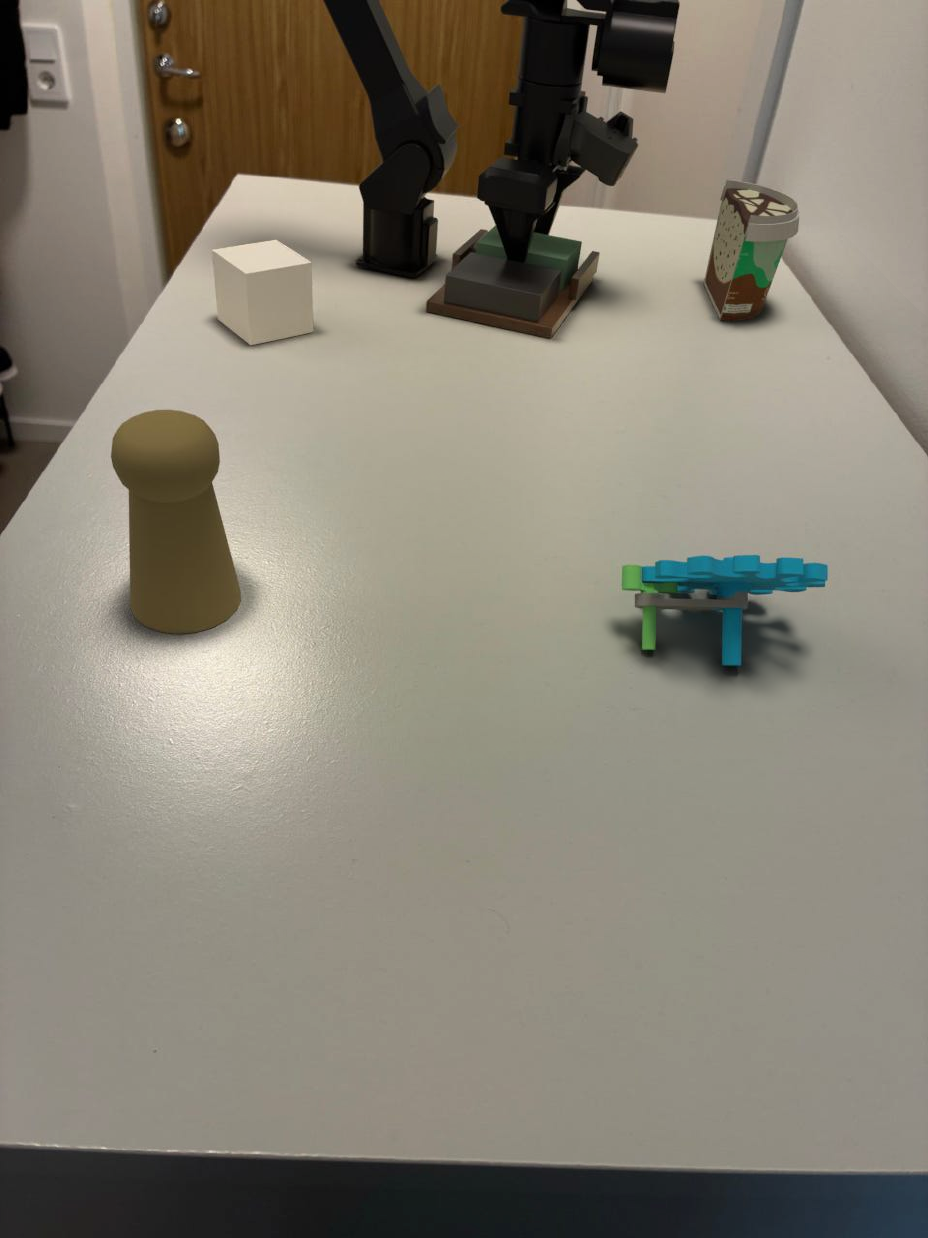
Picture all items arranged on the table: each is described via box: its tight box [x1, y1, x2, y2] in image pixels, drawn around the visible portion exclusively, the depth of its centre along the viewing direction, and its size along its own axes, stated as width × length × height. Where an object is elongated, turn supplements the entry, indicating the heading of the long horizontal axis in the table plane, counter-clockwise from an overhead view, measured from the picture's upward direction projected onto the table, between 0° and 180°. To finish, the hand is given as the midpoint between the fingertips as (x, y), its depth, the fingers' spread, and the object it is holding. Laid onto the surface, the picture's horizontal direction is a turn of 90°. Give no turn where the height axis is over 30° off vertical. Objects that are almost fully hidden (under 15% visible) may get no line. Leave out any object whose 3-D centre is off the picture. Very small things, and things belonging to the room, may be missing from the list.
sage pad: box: [476, 224, 583, 291], centre depth 93 cm, size 6×9×3 cm, turn 71°
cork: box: [110, 409, 242, 635], centre depth 50 cm, size 6×6×11 cm
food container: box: [703, 179, 800, 322], centre depth 92 cm, size 12×6×10 cm, turn 179°
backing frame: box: [425, 228, 601, 339], centre depth 91 cm, size 16×13×4 cm
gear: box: [621, 554, 829, 667], centre depth 52 cm, size 11×6×10 cm
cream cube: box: [211, 239, 314, 346], centre depth 80 cm, size 6×6×6 cm
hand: (528, 256), depth 94 cm, fingers open, 8 cm apart
